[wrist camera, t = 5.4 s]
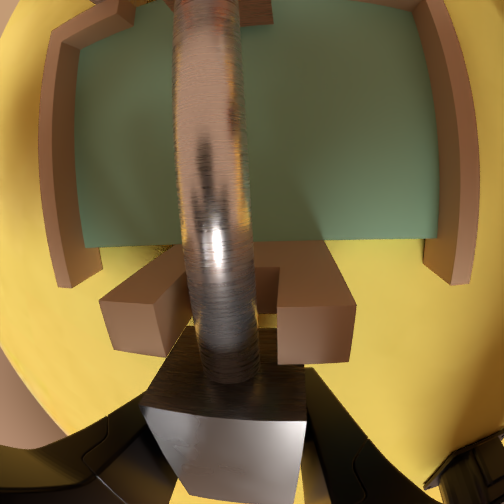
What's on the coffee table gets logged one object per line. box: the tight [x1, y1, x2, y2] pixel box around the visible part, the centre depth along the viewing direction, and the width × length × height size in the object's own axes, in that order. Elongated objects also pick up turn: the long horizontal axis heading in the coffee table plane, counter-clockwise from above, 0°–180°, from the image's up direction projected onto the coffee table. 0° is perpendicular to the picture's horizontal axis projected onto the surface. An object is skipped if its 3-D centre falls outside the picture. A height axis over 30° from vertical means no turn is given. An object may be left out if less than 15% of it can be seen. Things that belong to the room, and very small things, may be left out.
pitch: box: [38, 0, 480, 365], centre depth 5 cm, size 10×14×5 cm
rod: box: [138, 0, 307, 504], centre depth 5 cm, size 14×3×4 cm, turn 3°
